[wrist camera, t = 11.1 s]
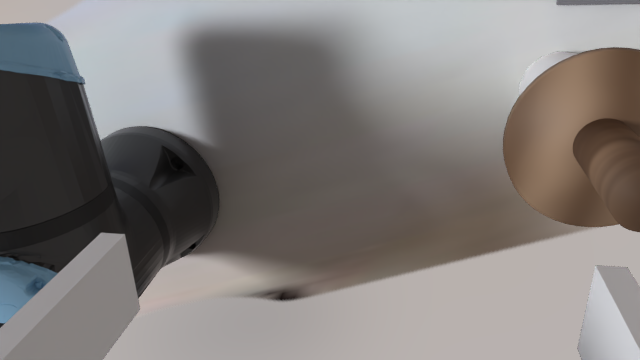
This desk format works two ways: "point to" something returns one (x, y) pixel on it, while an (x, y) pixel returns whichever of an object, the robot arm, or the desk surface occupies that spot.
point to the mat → (596, 2)
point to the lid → (580, 140)
